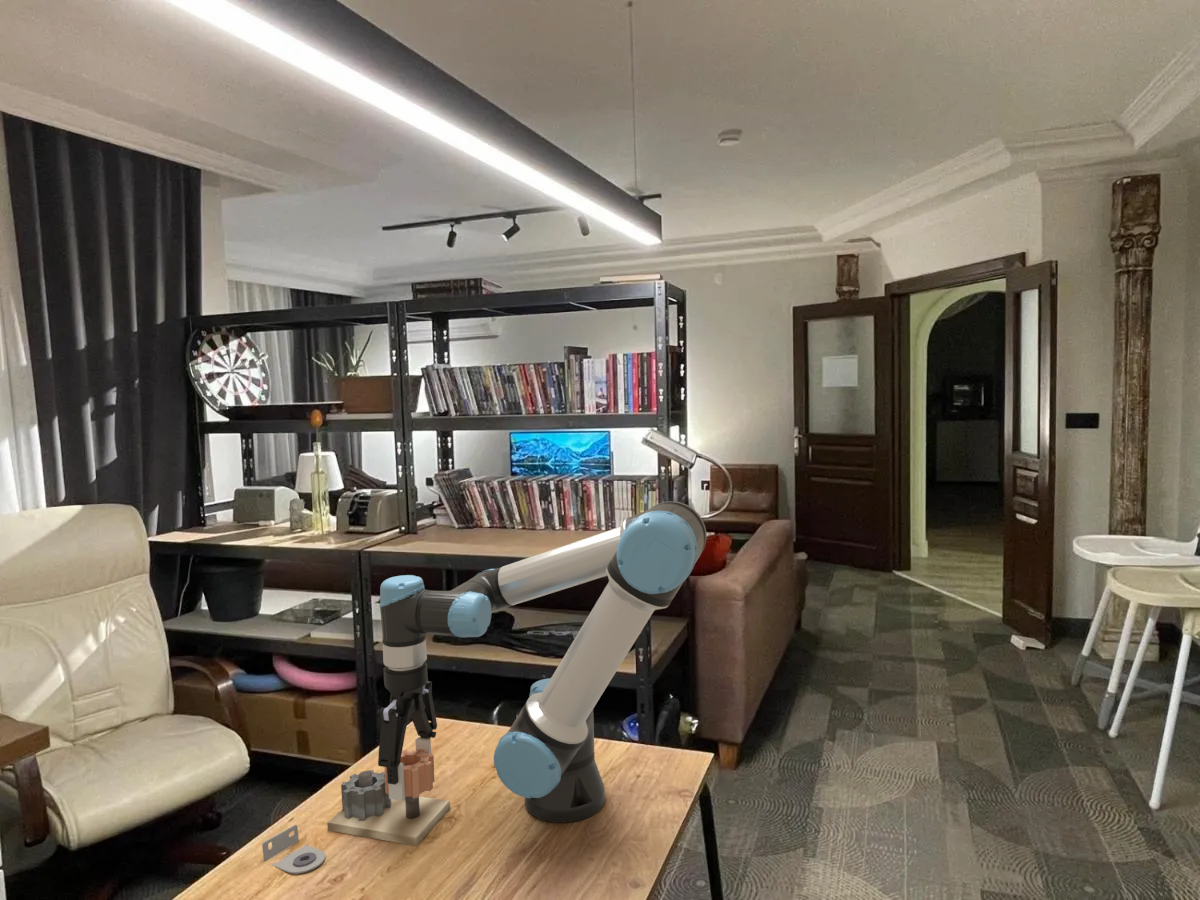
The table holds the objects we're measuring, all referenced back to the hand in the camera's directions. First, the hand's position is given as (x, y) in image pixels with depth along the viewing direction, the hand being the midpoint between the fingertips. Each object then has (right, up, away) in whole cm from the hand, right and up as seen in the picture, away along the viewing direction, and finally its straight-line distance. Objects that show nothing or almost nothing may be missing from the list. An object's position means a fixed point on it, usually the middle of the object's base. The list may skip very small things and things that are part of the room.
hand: (411, 785), depth 139 cm
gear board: (-4, -7, +2) cm, 9 cm away
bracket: (-17, -9, -9) cm, 21 cm away
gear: (0, 0, 0) cm, 0 cm away
